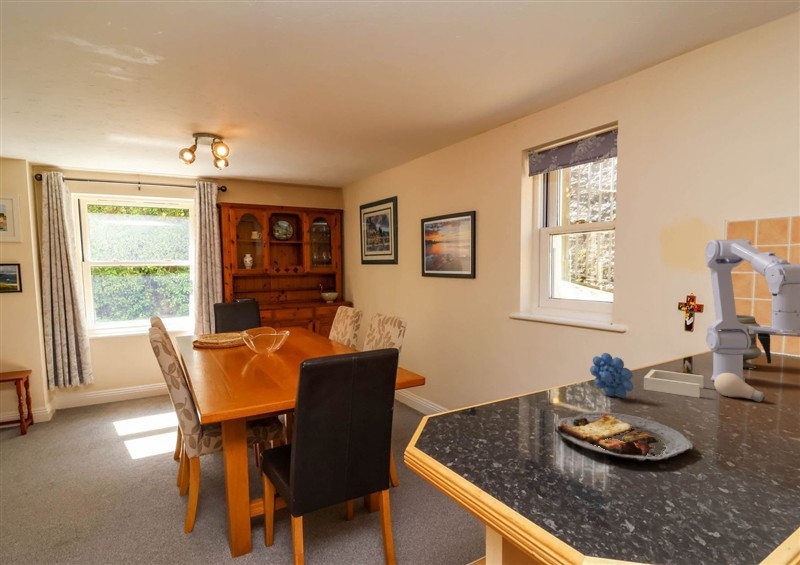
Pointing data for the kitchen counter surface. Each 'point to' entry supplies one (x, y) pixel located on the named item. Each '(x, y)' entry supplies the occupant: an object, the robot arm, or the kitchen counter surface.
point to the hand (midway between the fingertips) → (786, 364)
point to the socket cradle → (674, 383)
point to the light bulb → (736, 387)
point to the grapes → (611, 375)
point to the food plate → (607, 425)
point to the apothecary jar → (753, 349)
